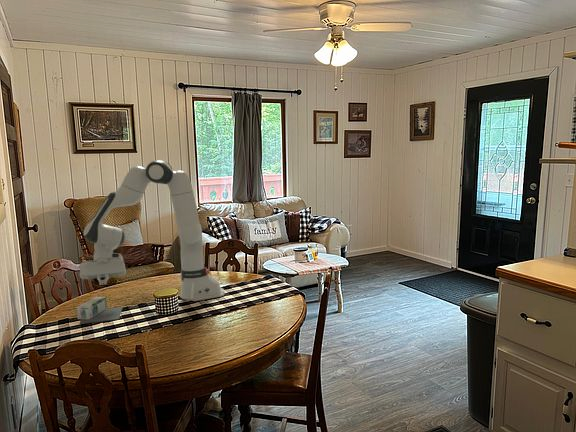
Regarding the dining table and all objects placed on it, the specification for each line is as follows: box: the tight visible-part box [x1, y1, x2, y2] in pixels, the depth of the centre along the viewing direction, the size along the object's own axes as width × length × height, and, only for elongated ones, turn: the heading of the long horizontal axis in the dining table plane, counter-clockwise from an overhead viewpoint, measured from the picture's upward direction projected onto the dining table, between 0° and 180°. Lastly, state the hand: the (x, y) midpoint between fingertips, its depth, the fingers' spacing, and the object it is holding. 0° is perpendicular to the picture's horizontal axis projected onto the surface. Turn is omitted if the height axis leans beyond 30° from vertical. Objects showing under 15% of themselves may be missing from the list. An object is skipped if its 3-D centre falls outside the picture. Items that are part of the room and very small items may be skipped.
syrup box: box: [76, 296, 108, 320], centre depth 195 cm, size 6×6×14 cm
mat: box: [79, 306, 123, 325], centre depth 193 cm, size 16×16×1 cm
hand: (102, 284), depth 200 cm, fingers closed
